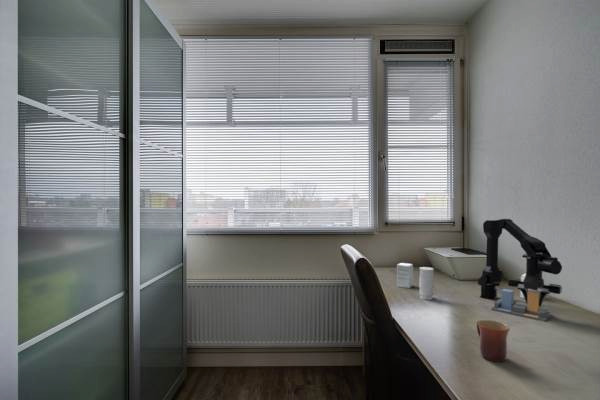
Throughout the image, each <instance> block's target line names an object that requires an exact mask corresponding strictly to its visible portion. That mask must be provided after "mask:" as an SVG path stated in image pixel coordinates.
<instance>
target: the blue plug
mask: <svg viewBox="0 0 600 400" xmlns="http://www.w3.org/2000/svg"><path fill="white" fill-rule="evenodd" d="M514 292H515V290H514V289H507V288H503V289H502V290H501V293H500V295H501V298H500V299H501V308H504V309H509V310H512V306H513V305H514V304H515V303H514V301H515V300H514V299H515V293H514Z"/></svg>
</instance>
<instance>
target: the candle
mask: <svg viewBox="0 0 600 400" xmlns="http://www.w3.org/2000/svg"><path fill="white" fill-rule="evenodd" d="M418 279H419V280H418V281H419V283H418V284H419V285H418V287H419V291H418V292H419V295H420V296H419V298H420V299H422V300H429V301H430V300H433V296H434V280H435V279H434V268H433V267H428V266H422V267H421V266H420V267H419V278H418Z"/></svg>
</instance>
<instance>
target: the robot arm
mask: <svg viewBox="0 0 600 400" xmlns="http://www.w3.org/2000/svg"><path fill="white" fill-rule="evenodd" d="M482 228H483V233H484V235H485V236H486V264H485V267H484V268H483V270H482V273H481V276H480V277H479V278H478V279H477V284H478V286H480V296H479V298H483V299H488V300H492V301H494V300H495V299H497V298H498V289H497V287H500V284H501V282H502V280H503V271H502V270H500V269H499V267H498V266H499V263H498V262H499V261H498V258H499V238H500V236H501V235H502V233H503V230H505V231H507V233H509V234H510V235H511V236H512V237H513V238H514V239H515V240H517V242H519V244H520V247H521V248H522V250H523V251H524V252H525V253H524V254H522V255H521V257H522V258H525V259H526V263H525V269H526V270H525V271H526V272H525V273H526V276H525V279H524V282H523V281H521V279H520V278H515V277H512V278H510V279H508V280H507V286H508V287H514V288H516V287H517V290H519V291H520V290H521V291H522V293H523V295H524V297H525V299H524V300H525V303H527V292H528V289H533V290H536V291H537V290H538V289H540V291H539V292H540V301H539V307H540V308H541V306H542V304H543V302H544V300H545V299H546V298H545V297H546V296H547V295H549V294H556V295H560V294H561V293H562V291H563V286H562V285H561V284H557V283H549V284H545V280H544V278H543V273H547V274H551V275H559V274H560V273H561V272H562V270H563V265H562V263H561V262H560V261H559V260H558V257H555V256H554V257H553V256H552V255H551V253H550V251H549V250H548V248H547V246H546V243H545V242H544V241H542V240H540V239H539V238H537V237H534V236H532V235H530V234H528V233H527V232H526V231H525V230H523V229H522V228H521V227H520V226H519V225H518V224H516V223H515V222H514V221H513V220H512V219H511V218H500V219H495V220H492V219H491V220H490V219H488V220H485V221H484V222H483V225H482Z"/></svg>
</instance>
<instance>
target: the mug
mask: <svg viewBox="0 0 600 400" xmlns="http://www.w3.org/2000/svg"><path fill="white" fill-rule="evenodd" d="M476 331H477V334H478V337H479V350H480V355H481V356H482V357H483V358H484V359H487V360H488V361H491V360H492V361H491V362H496V361H501V362H503V361H505V360H506V359H507V355H508V344H507V343H508V334H509V331H510V326H508V324H505V323H503V322H500V321H496V320H490V319H489V320H487V319H485V320H484V319H483V320H482V319H479V320H477V323H476Z"/></svg>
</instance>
